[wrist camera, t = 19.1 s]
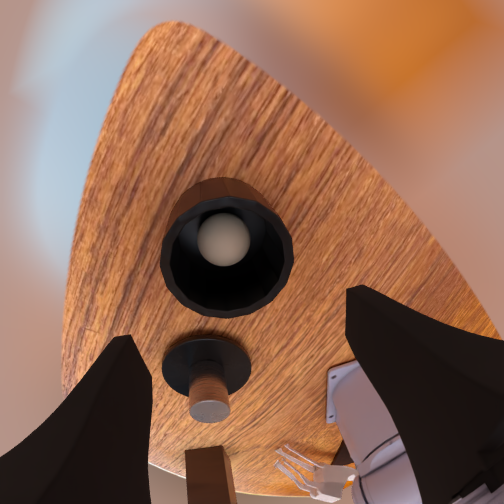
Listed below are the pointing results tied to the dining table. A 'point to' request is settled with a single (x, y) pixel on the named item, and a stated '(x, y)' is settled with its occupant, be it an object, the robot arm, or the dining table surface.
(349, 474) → the white flat pronged piece
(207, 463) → the stand
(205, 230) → the beige sphere
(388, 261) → the dining table surface
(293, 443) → the dining table surface
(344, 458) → the hamburger
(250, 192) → the cup
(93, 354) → the dining table surface
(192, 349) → the lid
